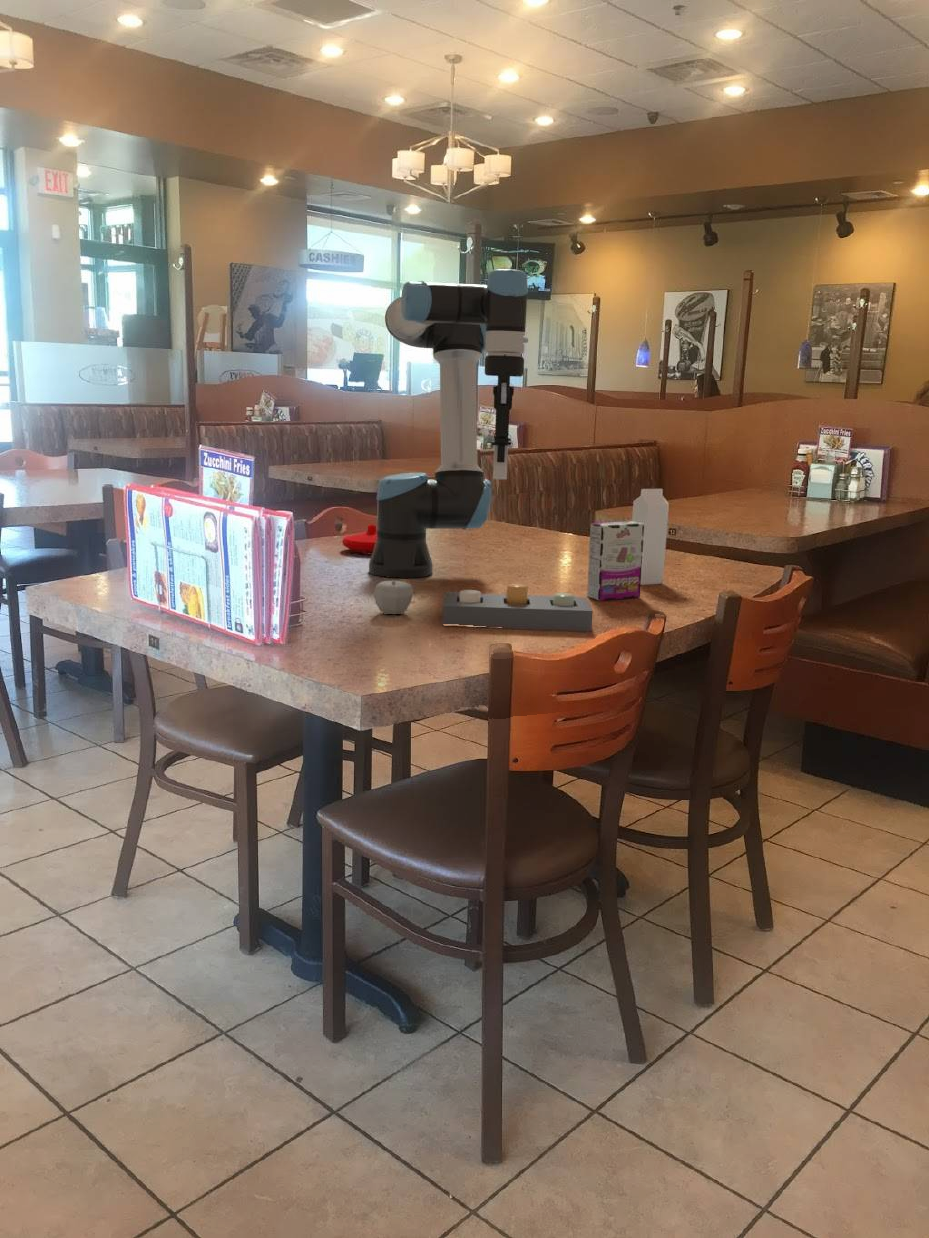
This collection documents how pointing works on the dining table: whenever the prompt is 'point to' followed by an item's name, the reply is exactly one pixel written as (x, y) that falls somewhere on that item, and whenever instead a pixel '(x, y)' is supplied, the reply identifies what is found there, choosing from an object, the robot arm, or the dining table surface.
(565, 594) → the button sage
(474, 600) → the button ivory
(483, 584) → the dining table surface
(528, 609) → the block
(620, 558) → the candy bar box
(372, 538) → the red disc with nozzle
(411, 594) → the apple
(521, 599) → the button amber
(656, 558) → the milk
